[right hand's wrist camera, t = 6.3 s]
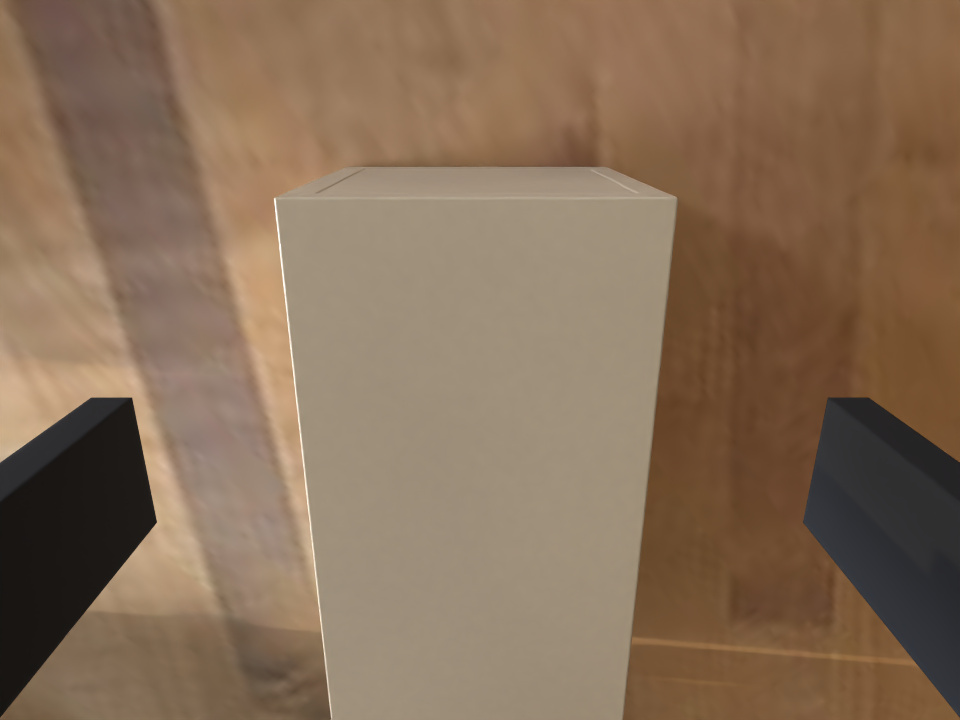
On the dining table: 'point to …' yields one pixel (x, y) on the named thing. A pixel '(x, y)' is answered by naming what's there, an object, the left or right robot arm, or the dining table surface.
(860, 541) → the right robot arm
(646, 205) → the cabinet
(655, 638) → the dining table surface
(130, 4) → the dining table surface
